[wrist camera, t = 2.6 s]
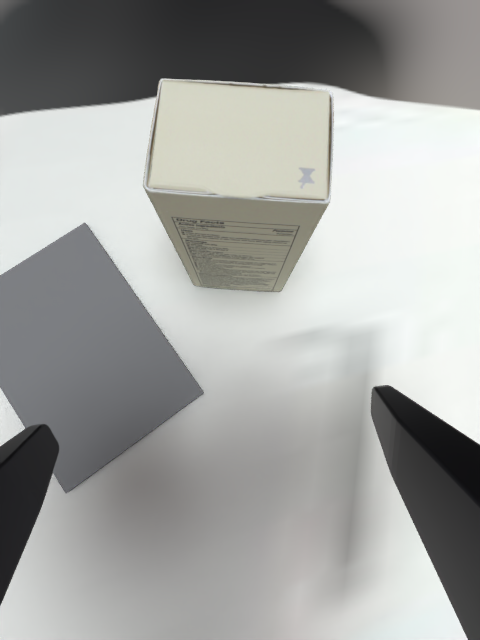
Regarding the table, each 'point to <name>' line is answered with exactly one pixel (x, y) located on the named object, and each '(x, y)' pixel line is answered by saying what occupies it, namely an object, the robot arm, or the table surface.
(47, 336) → the mat
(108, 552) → the table surface
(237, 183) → the skincare box
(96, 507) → the table surface
